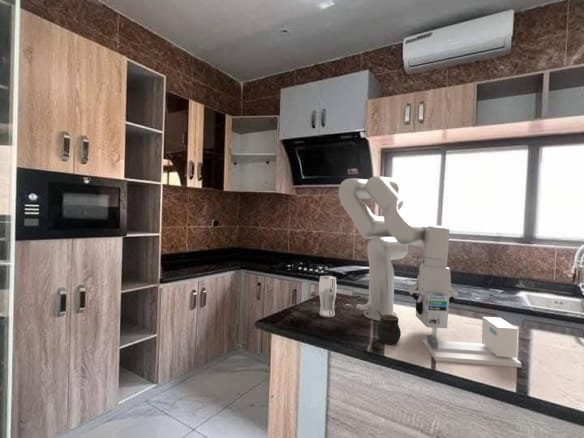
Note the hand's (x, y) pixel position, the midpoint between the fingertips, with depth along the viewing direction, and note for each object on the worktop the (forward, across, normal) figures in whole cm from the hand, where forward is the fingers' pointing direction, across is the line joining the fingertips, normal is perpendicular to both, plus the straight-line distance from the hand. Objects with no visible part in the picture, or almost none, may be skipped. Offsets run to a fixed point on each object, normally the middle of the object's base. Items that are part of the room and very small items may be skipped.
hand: (431, 313), depth 107 cm
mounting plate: (+6, +7, -14) cm, 17 cm away
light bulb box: (+3, 0, 0) cm, 3 cm away
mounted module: (+4, +15, -14) cm, 21 cm away
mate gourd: (+7, -15, -9) cm, 19 cm away
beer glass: (+9, -35, +14) cm, 39 cm away
